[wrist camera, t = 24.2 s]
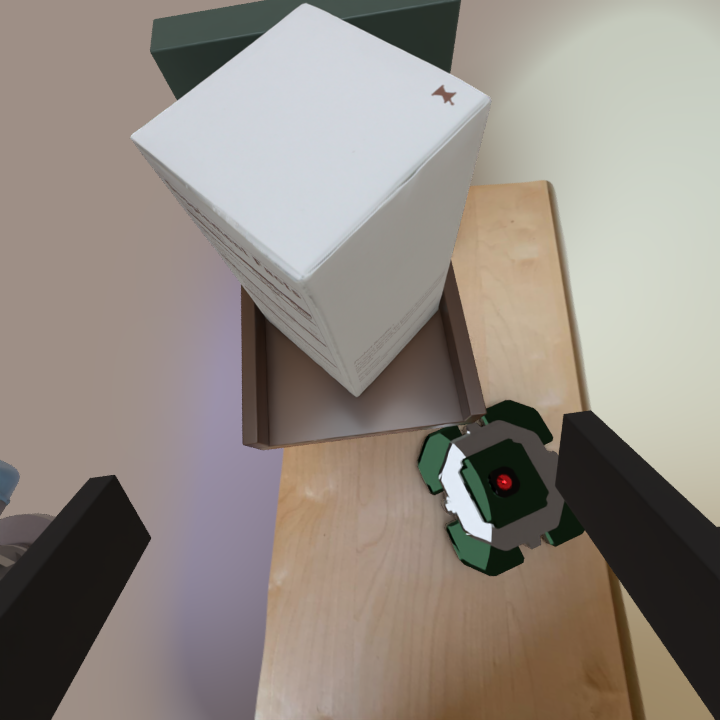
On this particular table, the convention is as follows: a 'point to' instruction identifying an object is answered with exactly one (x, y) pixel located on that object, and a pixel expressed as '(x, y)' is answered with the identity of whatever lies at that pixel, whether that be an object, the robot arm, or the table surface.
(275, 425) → the door shelf
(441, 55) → the door panel
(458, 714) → the table surface
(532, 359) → the table surface
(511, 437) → the four-lobed dark green device
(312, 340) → the white packaging box
